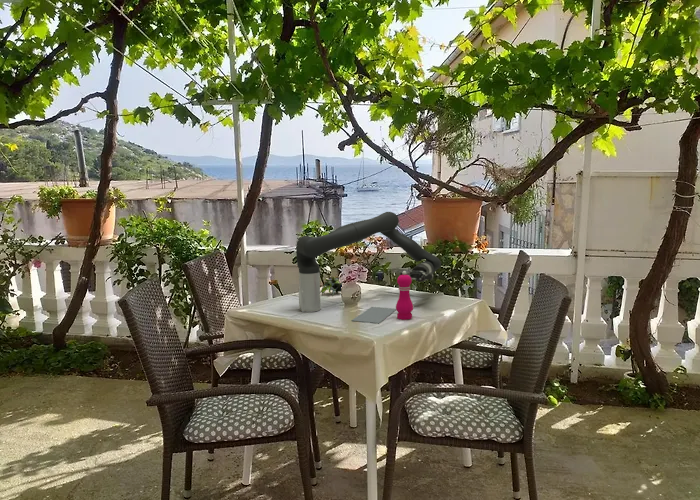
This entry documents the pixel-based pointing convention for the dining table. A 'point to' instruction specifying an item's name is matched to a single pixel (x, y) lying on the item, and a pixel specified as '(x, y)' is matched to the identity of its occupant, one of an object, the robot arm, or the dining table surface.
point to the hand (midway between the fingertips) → (412, 278)
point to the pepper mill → (404, 297)
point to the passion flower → (332, 285)
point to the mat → (374, 315)
